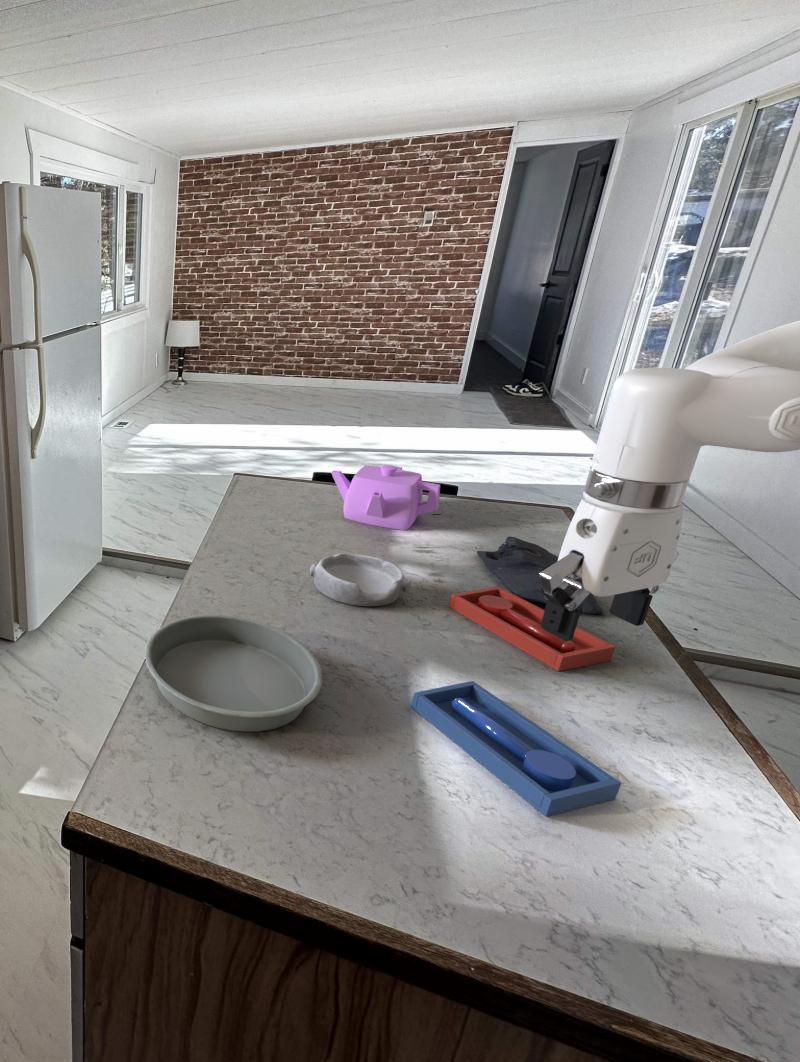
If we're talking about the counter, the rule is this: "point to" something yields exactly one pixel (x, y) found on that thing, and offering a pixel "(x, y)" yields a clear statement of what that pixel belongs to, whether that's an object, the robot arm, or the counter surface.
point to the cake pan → (232, 671)
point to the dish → (359, 579)
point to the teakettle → (386, 496)
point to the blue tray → (438, 711)
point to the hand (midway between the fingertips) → (590, 626)
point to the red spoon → (522, 621)
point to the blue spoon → (522, 750)
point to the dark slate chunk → (528, 571)
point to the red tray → (585, 643)
